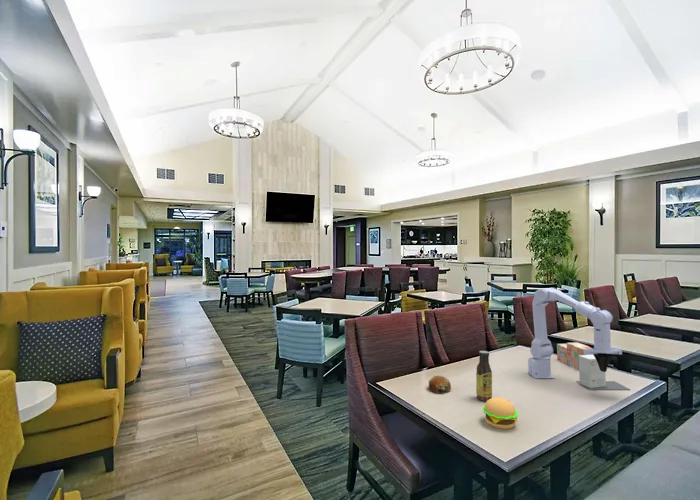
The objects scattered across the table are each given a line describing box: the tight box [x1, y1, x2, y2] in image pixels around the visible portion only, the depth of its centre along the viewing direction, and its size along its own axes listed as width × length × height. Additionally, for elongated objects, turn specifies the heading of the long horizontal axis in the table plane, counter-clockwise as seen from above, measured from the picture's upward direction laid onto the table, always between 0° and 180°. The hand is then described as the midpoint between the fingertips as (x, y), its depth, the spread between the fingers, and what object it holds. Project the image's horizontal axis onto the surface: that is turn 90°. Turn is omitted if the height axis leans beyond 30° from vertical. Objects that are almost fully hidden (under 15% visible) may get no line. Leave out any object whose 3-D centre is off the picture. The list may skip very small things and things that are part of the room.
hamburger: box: [481, 397, 519, 430], centre depth 126 cm, size 12×12×9 cm
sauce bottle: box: [475, 350, 493, 402], centre depth 147 cm, size 6×6×20 cm
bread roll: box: [428, 374, 452, 394], centre depth 158 cm, size 10×10×8 cm
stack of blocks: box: [556, 342, 591, 371], centre depth 186 cm, size 21×6×12 cm, turn 1°
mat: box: [575, 380, 631, 391], centre depth 158 cm, size 18×10×1 cm, turn 86°
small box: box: [578, 354, 607, 388], centre depth 158 cm, size 8×6×13 cm
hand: (603, 371), depth 147 cm, fingers closed
